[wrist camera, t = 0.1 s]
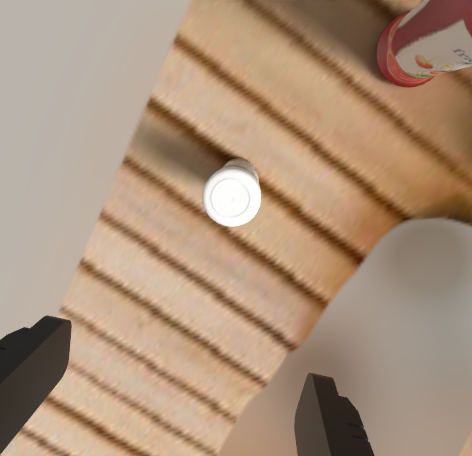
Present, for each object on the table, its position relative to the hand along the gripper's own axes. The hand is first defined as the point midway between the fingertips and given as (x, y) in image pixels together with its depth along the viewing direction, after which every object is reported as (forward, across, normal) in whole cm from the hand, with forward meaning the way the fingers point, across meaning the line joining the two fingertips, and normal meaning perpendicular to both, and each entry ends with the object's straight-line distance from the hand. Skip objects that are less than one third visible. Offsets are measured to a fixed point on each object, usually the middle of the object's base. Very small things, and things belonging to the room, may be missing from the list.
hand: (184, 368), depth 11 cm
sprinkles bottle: (+30, 0, -3) cm, 30 cm away
